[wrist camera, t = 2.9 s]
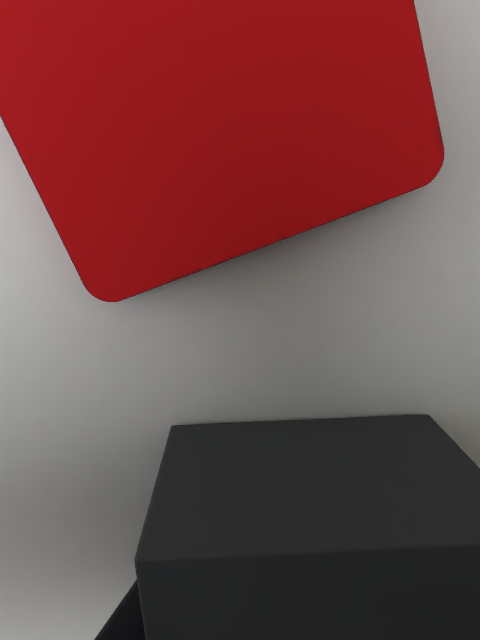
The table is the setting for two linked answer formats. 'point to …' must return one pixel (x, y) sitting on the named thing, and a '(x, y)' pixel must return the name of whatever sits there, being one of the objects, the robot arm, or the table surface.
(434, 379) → the table surface
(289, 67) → the electronic device
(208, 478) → the black block
